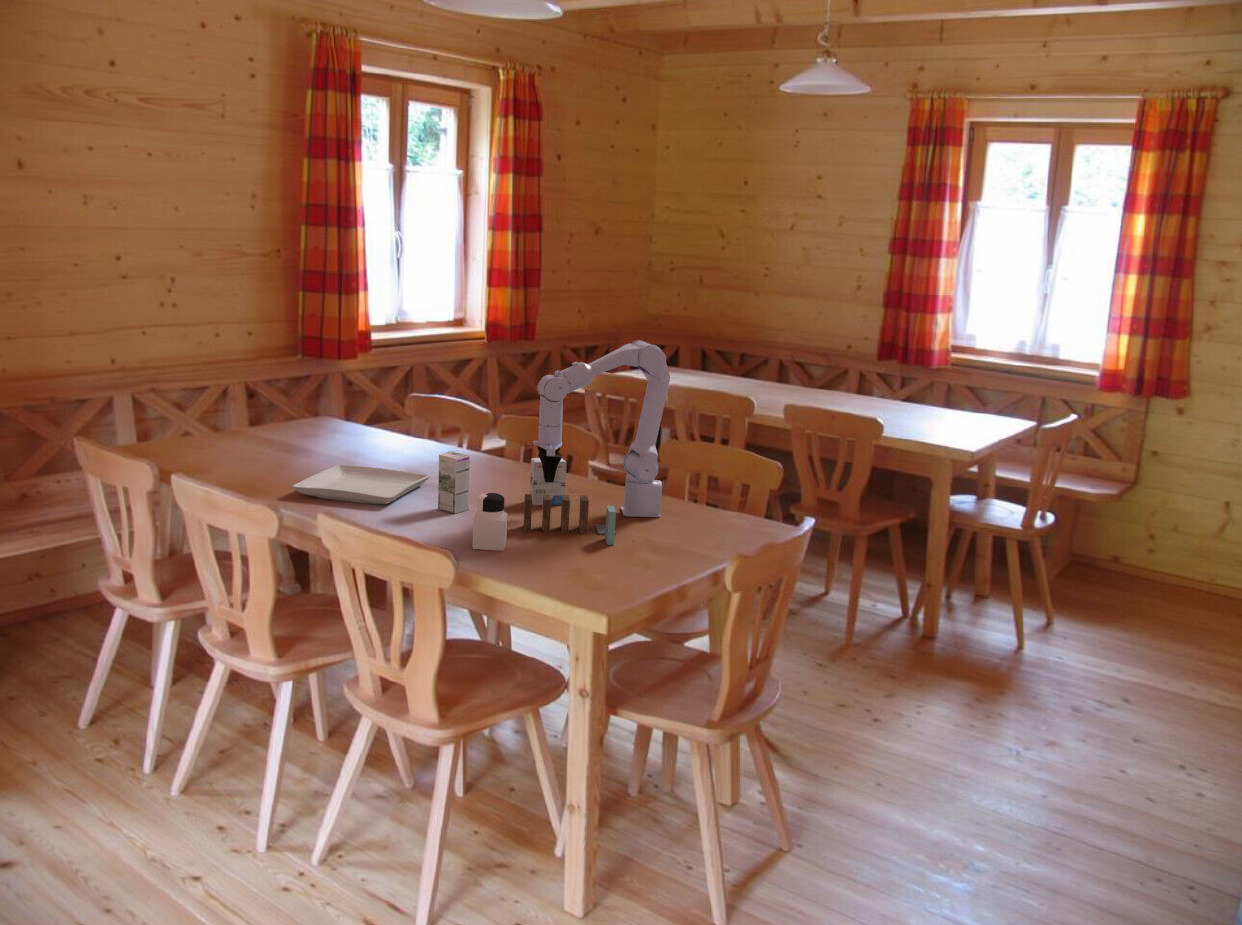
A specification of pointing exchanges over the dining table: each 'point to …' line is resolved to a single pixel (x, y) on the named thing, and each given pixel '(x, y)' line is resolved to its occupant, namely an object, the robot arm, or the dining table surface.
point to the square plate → (360, 484)
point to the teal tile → (610, 525)
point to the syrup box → (453, 482)
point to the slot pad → (601, 529)
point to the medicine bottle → (490, 523)
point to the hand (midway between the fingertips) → (548, 478)
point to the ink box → (547, 483)
